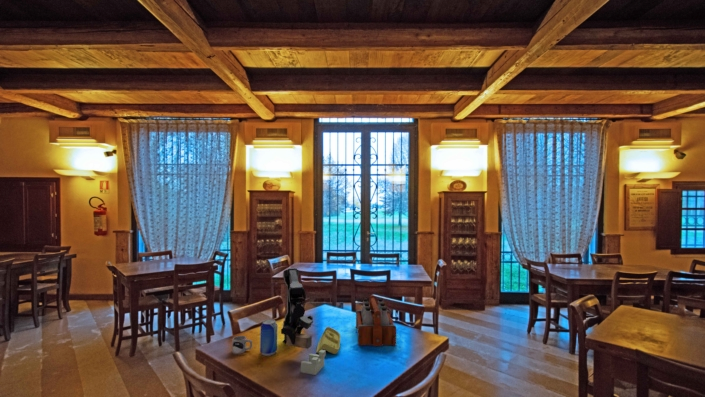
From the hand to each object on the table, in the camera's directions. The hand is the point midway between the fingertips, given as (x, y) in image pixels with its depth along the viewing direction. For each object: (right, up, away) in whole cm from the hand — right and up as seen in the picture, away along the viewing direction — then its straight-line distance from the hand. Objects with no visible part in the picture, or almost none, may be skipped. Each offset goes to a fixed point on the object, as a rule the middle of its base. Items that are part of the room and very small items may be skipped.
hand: (295, 342), depth 161 cm
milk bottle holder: (+42, -9, +29) cm, 52 cm away
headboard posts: (+10, -7, -12) cm, 17 cm away
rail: (+2, -1, -1) cm, 2 cm away
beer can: (-15, -7, +4) cm, 17 cm away
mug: (-29, -7, +6) cm, 30 cm away
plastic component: (+16, -8, +12) cm, 22 cm away
